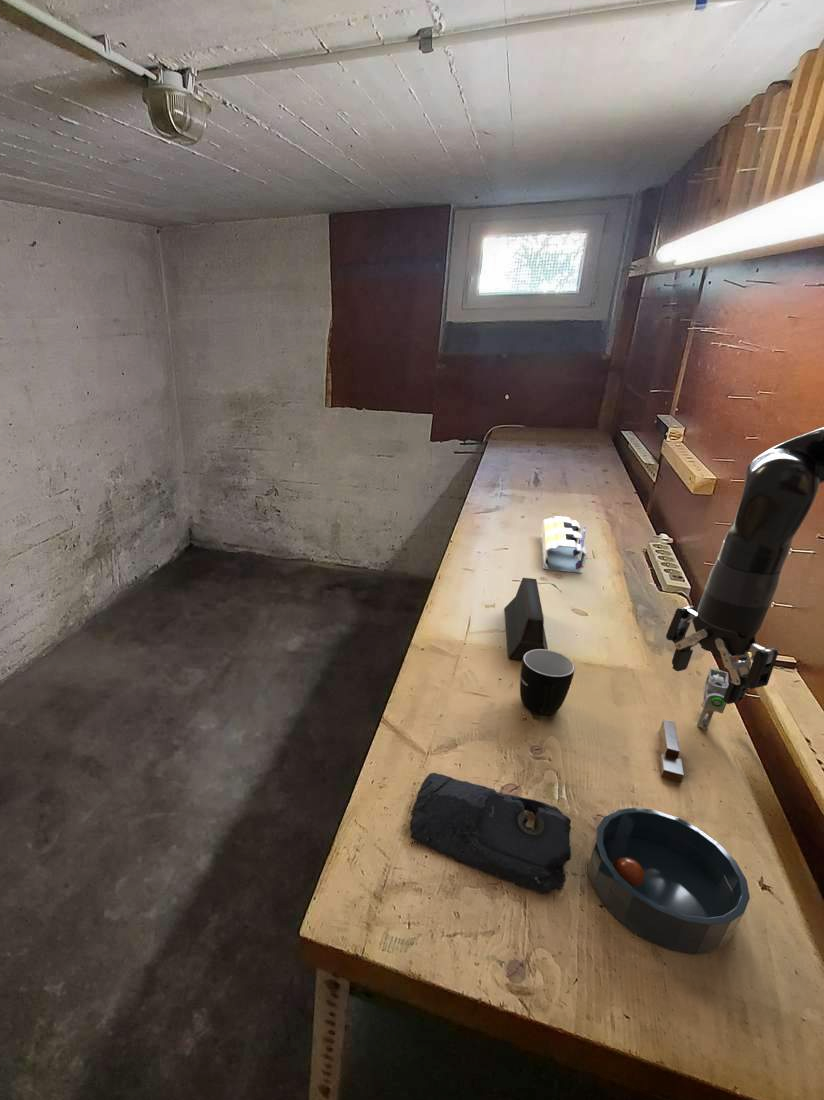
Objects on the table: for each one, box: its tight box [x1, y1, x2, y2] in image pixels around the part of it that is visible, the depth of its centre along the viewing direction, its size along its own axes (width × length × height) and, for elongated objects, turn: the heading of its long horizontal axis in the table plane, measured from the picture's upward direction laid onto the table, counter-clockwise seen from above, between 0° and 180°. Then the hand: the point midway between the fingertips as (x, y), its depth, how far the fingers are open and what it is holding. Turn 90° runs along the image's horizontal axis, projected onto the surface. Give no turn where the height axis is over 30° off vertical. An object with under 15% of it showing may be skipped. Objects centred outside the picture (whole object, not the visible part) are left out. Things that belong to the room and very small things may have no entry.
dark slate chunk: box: [409, 772, 572, 895], centre depth 84 cm, size 15×22×5 cm
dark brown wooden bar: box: [658, 719, 685, 783], centre depth 96 cm, size 12×3×3 cm, turn 153°
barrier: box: [503, 577, 549, 661], centre depth 130 cm, size 24×9×10 cm, turn 162°
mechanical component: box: [696, 667, 729, 730], centre depth 101 cm, size 3×10×10 cm, turn 145°
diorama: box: [540, 515, 587, 574], centre depth 169 cm, size 25×10×13 cm, turn 159°
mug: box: [519, 649, 576, 716], centre depth 106 cm, size 12×9×10 cm
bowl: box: [587, 807, 751, 955], centre depth 74 cm, size 17×17×6 cm
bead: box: [613, 857, 644, 888], centre depth 75 cm, size 4×4×4 cm
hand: (703, 684), depth 86 cm, fingers open, 8 cm apart
